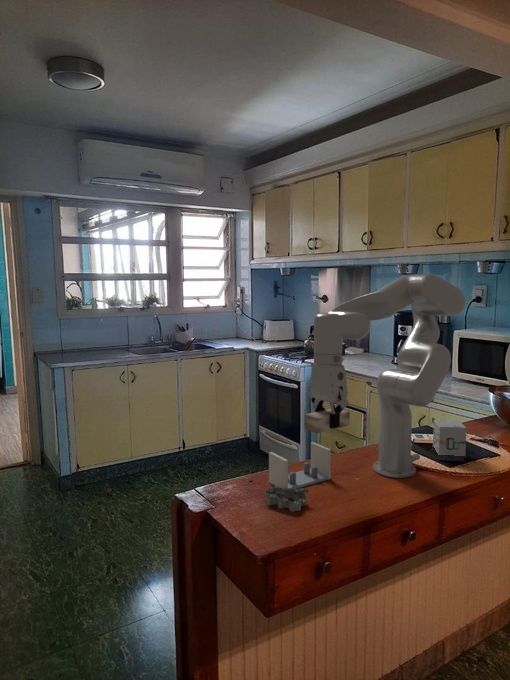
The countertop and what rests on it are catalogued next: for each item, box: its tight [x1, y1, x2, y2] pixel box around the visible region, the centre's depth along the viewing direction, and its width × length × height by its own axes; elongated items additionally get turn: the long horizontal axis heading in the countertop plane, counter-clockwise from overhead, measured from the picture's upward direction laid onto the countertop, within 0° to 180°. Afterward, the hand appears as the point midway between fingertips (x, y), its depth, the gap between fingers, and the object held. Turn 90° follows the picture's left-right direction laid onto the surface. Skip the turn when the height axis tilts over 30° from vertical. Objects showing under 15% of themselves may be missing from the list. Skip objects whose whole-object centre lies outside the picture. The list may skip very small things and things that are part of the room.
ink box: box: [432, 419, 467, 457], centre depth 156 cm, size 8×8×12 cm
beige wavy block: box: [304, 408, 351, 434], centre depth 128 cm, size 12×5×4 cm, turn 125°
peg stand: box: [268, 441, 332, 490], centre depth 138 cm, size 17×8×9 cm, turn 122°
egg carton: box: [263, 485, 309, 513], centre depth 124 cm, size 11×8×4 cm
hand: (327, 424), depth 129 cm, fingers closed on beige wavy block, 5 cm apart
